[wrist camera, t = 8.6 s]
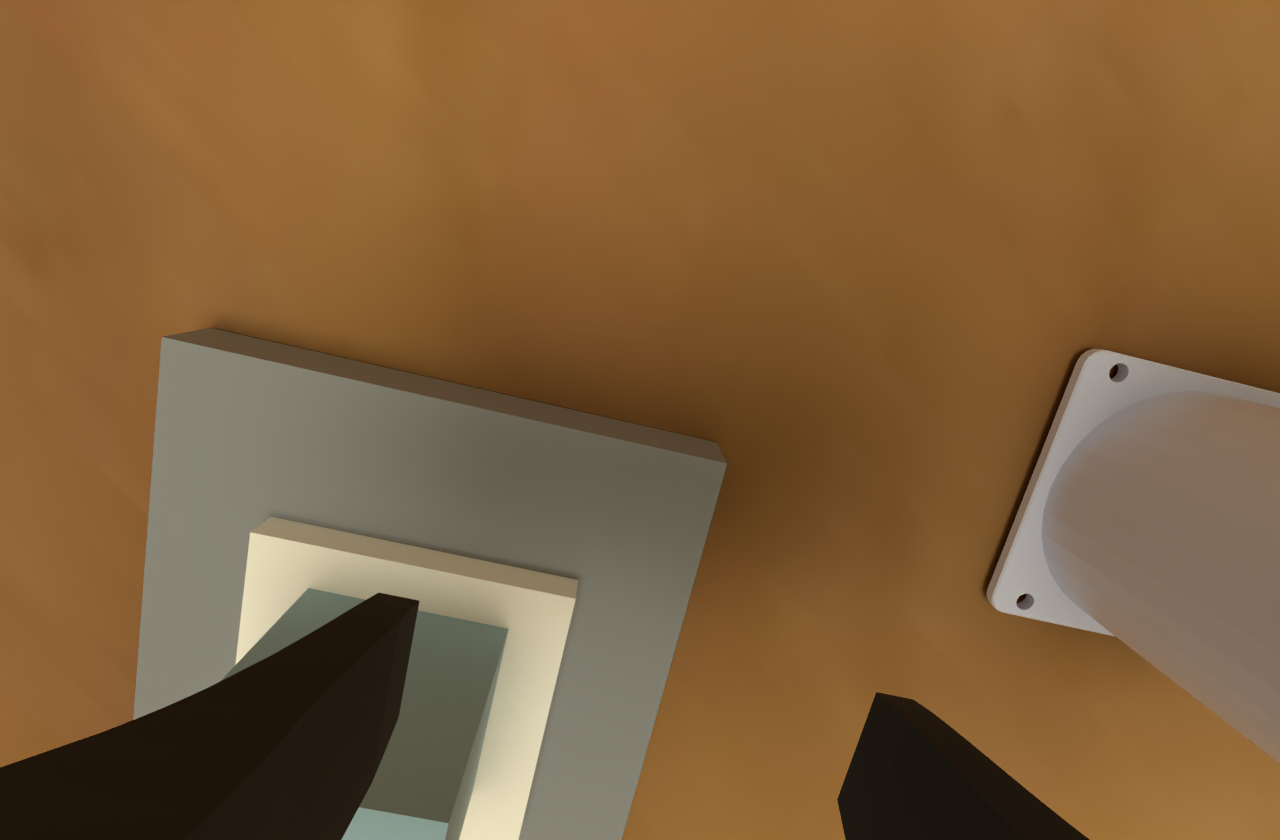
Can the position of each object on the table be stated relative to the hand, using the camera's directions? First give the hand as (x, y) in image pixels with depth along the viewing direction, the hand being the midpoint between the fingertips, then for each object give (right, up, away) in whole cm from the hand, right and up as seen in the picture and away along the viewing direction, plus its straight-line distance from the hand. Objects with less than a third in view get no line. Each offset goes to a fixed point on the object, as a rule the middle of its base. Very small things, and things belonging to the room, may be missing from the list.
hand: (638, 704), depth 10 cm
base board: (-6, -2, +10) cm, 12 cm away
